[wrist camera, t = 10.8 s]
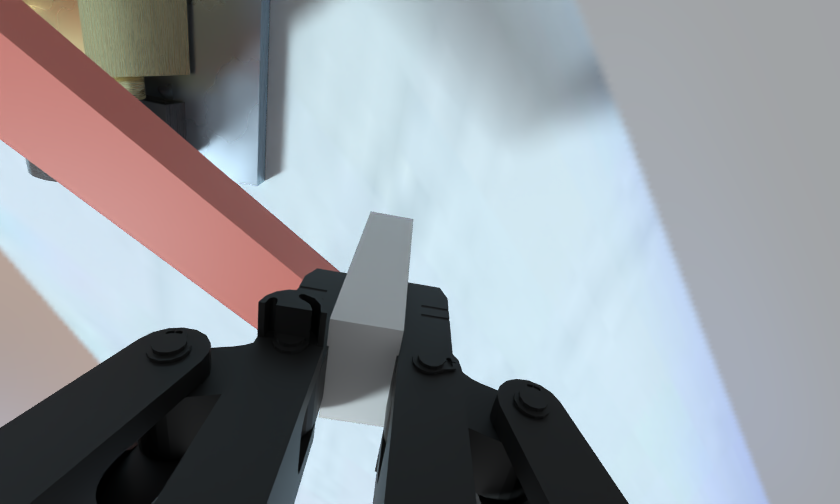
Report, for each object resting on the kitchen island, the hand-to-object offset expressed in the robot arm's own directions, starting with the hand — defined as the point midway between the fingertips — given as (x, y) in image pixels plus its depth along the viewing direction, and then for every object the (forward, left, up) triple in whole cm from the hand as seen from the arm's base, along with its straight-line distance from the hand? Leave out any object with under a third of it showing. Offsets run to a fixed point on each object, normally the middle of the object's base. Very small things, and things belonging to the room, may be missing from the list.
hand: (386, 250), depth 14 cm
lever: (-3, -9, -2) cm, 10 cm away
